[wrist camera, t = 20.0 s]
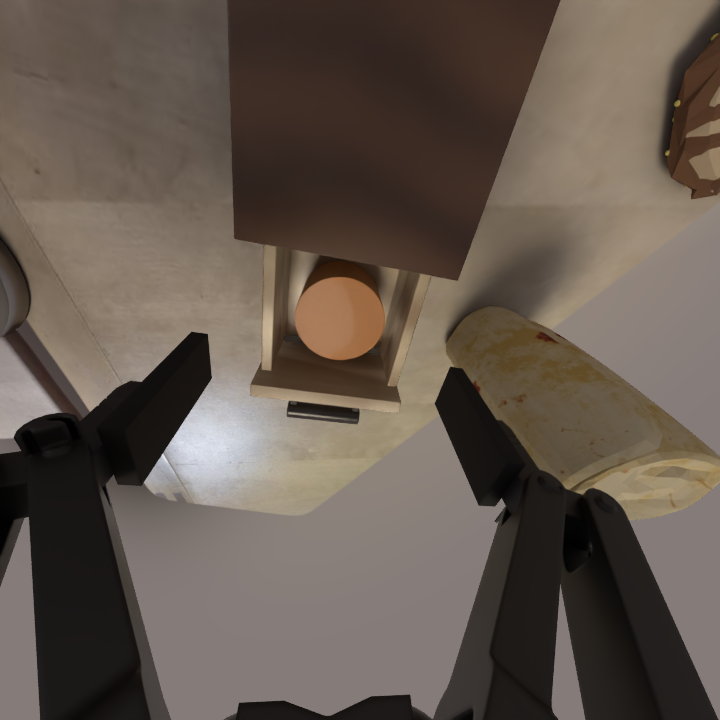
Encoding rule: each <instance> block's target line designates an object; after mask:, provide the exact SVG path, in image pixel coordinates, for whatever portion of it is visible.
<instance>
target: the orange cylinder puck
mask: <svg viewBox="0 0 720 720" xmlns="http://www.w3.org/2000/svg"><path fill="white" fill-rule="evenodd" d="M384 325H385V312H384V308H383V305H382V302H381V299H380V296H379V292H378V289H377V286H376V284H375V282H374V280H373V278H372V277H371V276H370V274H369V273H368V272H367V271H366V270H364V269H363V268H362V267H360V266H358V265H356V264H353V263H350V262H345V261H334V262H330V263H326V264H324V265H322V266H320V267H319V268H317V269H316V270H315V271H313V273H312V274H311V275H310V276H309V278H308V279H307V281H306V283H305V285H304V288H303V290H302V293H301V295H300V298H299V300H298V303H297V306H296V310H295V326H296V329H297V332H298V334H299V336H300V338H301V340H302V341H303V342H304V344H305V345H306V346H307V347H308V348H309V349H310V350H312V351H313V352H315V353H316V354H318V355H320V356H322V357H325V358H328V359H333V360H347V359H352V358H356V357H359V356H361V355H363V354H365V353H366V352H368V351H369V350H370V349H371V348H372V347H374V345H375V344H376V343H377V342H378V340H379V339H380V337H381V335H382V332H383V329H384Z"/></svg>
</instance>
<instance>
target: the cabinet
mask: <svg viewBox="0 0 720 720" xmlns="http://www.w3.org/2000/svg"><path fill="white" fill-rule="evenodd" d="M559 3H560V0H227V5H228V39H229V73H230V106H231V140H232V174H233V207H234V238H235V239H238V240H244V241H249V242H254V243H260V244H265V245H270V246H276V247H281V248H286V249H292V250H297V251H302V252H308V253H313V254H318V255H324V256H329V257H334V258H340V259H345V260H350V261H356V262H361V263H366V264H372V265H377V266H382V267H388V268H393V269H398V270H404V271H409V272H414V273H420V274H425V275H430V276H436V277H441V278H446V279H451V280H458V279H459V276H460V273H461V271H462V268H463V265H464V262H465V260H466V257H467V254H468V251H469V249H470V246H471V243H472V240H473V238H474V235H475V232H476V230H477V227H478V224H479V221H480V219H481V216H482V213H483V210H484V208H485V205H486V202H487V199H488V197H489V194H490V191H491V189H492V186H493V183H494V180H495V178H496V175H497V172H498V169H499V167H500V164H501V161H502V158H503V156H504V153H505V150H506V148H507V145H508V142H509V139H510V137H511V134H512V131H513V128H514V126H515V123H516V120H517V118H518V115H519V112H520V109H521V107H522V104H523V101H524V98H525V96H526V93H527V90H528V87H529V85H530V82H531V79H532V77H533V74H534V71H535V68H536V66H537V63H538V60H539V57H540V55H541V52H542V49H543V46H544V44H545V41H546V38H547V36H548V33H549V30H550V27H551V25H552V22H553V19H554V16H555V14H556V11H557V8H558V5H559Z"/></svg>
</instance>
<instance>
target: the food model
mask: <svg viewBox="0 0 720 720" xmlns="http://www.w3.org/2000/svg"><path fill="white" fill-rule="evenodd" d="M446 353H447V356H448V357H449V359H450V360H451V361H452V363H453V365H454V367H455V368H463V370H464V371H465V373H466V374H467V376H468V377H469V379H470V380H471V382H472V383H473V385H474V386H475V388H476V389H477V391H478V392H479V394H480V395H481V397H482V398H483V400H484V402H485V403H486V405H487V406H488V408H489V409H490V411H491V412H492V414H493V415H494V417H495V418H496V420H502V421H503V422H504V423H505V424H506V425H508V426H509V427H510V428H511V429H512V431H513V432H514V434H515V435H516V437H517V438H518V439H519V441H520V442H521V445H523V447H524V448H525V449H526V451H527V452H528V454H529V455H530V457H531V458H532V459H533V461H534V462H535V464H536V465H537V467H538V468H539V469H540V470H543V471H546V472H548V473H550V474H551V475H553V476H554V477H556V478H557V479H558V480H559V481H560V482H561V483H562V484H563V486H564V487H565V489H568V490H571V491H573V492H576V493H579V494H582V495H583V494H584V493H585V492H586V491H587V490H588V489H589V488H595V489H599V490H601V491H603V492H605V493H607V494H609V495H610V496H612V497H613V498H614V499H615V500H616V501H617V502H618V503H619V504H620V505H621V506H622V508H623V509H624V511H625V513H626V515H627V517H628V520H629V521H630V520H638V519H647V518H655V517H659V516H662V515H665V514H668V513H673V512H676V511H679V510H683V509H686V508H687V507H689V506H690V505H692V504H693V503H695V502H696V501H697V500H699V499H700V498H702V497H703V496H704V495H705V494H706V493H707V492H709V491H710V490H711V489H712V488H713V487H715V486H716V485H717V484H718V483H720V457H719V455H717V454H716V453H715V452H714V451H713V450H712V449H711V448H709V447H708V446H707V445H706V444H705V443H703V442H702V441H701V440H700V439H699V438H697V437H696V436H695V435H693V433H691V432H690V431H689V430H688V429H686V428H685V427H684V426H683V425H682V424H680V423H679V422H678V421H676V420H675V419H674V418H673V417H672V416H670V415H669V414H668V413H667V412H665V411H664V410H663V409H661V408H660V407H659V406H658V405H656V404H655V403H654V402H652V401H651V400H650V399H649V398H647V397H646V396H645V395H643V394H642V393H641V392H640V391H638V390H637V389H636V388H634V387H633V386H632V385H630V384H629V383H628V382H626V381H625V380H624V379H622V378H621V377H620V376H618V375H617V374H616V373H614V372H613V371H612V370H610V369H609V368H608V367H606V366H605V365H603V364H602V363H600V362H599V361H598V360H596V359H595V358H593V357H592V356H590V355H589V354H587V353H586V352H585V351H583V350H581V349H580V348H579V347H577V346H576V345H574V344H572V343H571V342H569V341H568V340H566V339H565V338H563V337H561V336H560V335H558V334H557V333H555V332H553V331H552V330H550V329H548V328H546V327H544V326H542V325H540V324H538V323H536V322H533V321H531V320H528V319H526V318H523V317H521V316H520V315H518V314H517V313H515V312H513V311H511V310H508V309H506V308H504V307H493V306H488V307H485V308H482V309H479V310H476V311H474V312H473V313H471V314H470V315H468V316H467V317H465V318H464V319H463V320H462V322H461V323H460V324H459V325H458V326H457V328H456V329H455V331H454V332H453V334H452V335H451V337H450V338H449V340H448V342H447V343H446Z"/></svg>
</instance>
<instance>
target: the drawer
mask: <svg viewBox="0 0 720 720" xmlns="http://www.w3.org/2000/svg"><path fill="white" fill-rule="evenodd" d="M334 261H345V262H350V263H353V264H356V265H358V266H360V267H362V268H363V269H364V270H366V271H367V272H368V273H369V274H370V276H371V277H372V278H373V280H374V282H375V284H376V286H377V289H378V292H379V296H380V299H381V302H382V305H383V308H384V312H385V325H384V329H383V332H382V335H381V337H380V339H379V340H378V342H377V343H376V344H375V345H374V347H375V348H379V349H380V353H381V355H375V354H369V353H365V354H363V355H361V356H359V357H356V358H352V359H347V360H333V359H328V358H325V357H322V356H320V355H318V354H316V353H315V352H313V351H312V350H310V349H309V348H308V347H307V346H306V345H305V344H299V343H292V342H285V341H283V340H284V338H285V335H286V334H287V335H294V336H299V334H298V332H297V329H296V326H295V310H296V306H297V303H298V300H299V298H300V295H301V293H302V290H303V288H304V285H305V283H306V281H307V279H308V278H309V276H310V275H311V274H312V273H313V271H315V270H316V269H317V268H319V267H320V266H322V265H324V264H326V263H330V262H334ZM430 279H431V276H430V275H425V274H420V273H414V272H409V271H404V270H398V269H393V268H388V267H382V266H377V265H372V264H366V263H361V262H356V261H350V260H345V259H340V258H334V257H329V256H324V255H318V254H313V253H308V252H302V251H297V250H292V249H286V248H281V247H276V246H270V245H265V244H264V259H263V311H262V361H261V363H260V365H259V368H258V370H257V372H256V374H255V376H254V378H253V380H252V382H251V385H250V393H251V396H256V397H265V398H273V399H282V400H291V401H289V403H288V408H287V417H293V418H302V419H312V420H321V421H330V422H339V423H349V424H358V421H359V414H360V412H359V408H360V409H368V410H377V411H385V412H394V413H398V411H399V408H400V405H401V400H400V396H399V393H398V389H397V383H398V380H399V377H400V374H401V370H402V367H403V364H404V361H405V358H406V355H407V352H408V348H409V345H410V342H411V339H412V336H413V333H414V329H415V326H416V323H417V320H418V317H419V314H420V310H421V307H422V304H423V301H424V298H425V295H426V291H427V288H428V285H429V282H430ZM316 403H317V404H316Z"/></svg>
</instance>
